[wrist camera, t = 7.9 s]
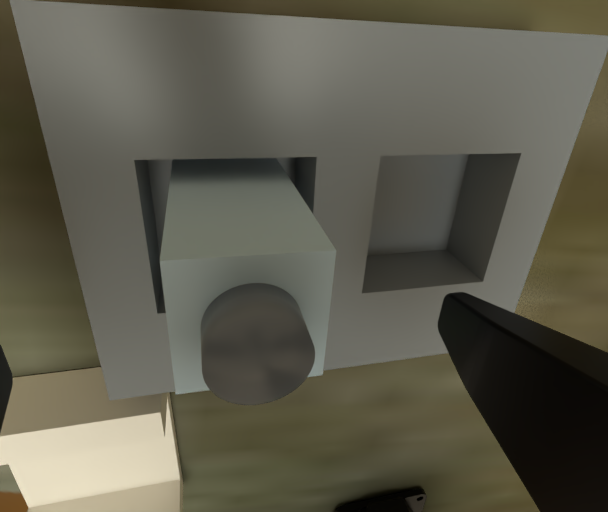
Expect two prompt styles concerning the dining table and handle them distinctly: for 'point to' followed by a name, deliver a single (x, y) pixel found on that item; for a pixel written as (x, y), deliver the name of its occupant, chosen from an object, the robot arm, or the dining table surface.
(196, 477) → the dining table surface
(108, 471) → the holster
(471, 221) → the port panel
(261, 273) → the plug
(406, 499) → the robot arm
